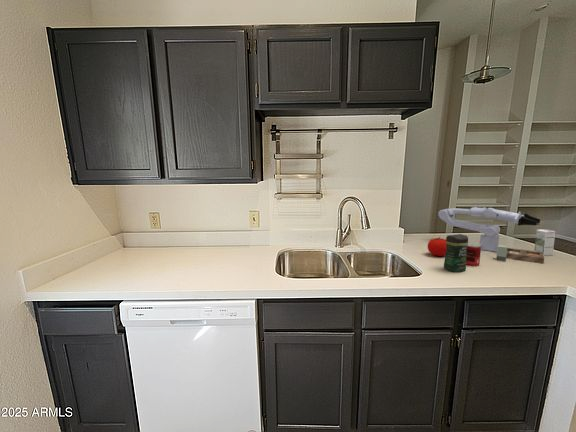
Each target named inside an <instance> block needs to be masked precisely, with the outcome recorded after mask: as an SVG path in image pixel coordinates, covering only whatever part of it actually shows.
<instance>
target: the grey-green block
mask: <svg viewBox="0 0 576 432" xmlns="http://www.w3.org/2000/svg"><path fill="white" fill-rule="evenodd" d="M507 248H508V246H507V245H501V244H498V247H497V252H496V257H495V258H496V259H495V260H496V261H498V262H499V261H500V262H506V261H507V258H506V255H507Z"/></svg>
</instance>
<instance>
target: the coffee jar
mask: <svg viewBox="0 0 576 432" xmlns="http://www.w3.org/2000/svg"><path fill="white" fill-rule="evenodd" d="M445 240H446V254H445V255H444V262H443V269H445V270H446V271H448V272H453V273H457V272H458V273H459V272H465V271H466V270H467V265H466V249H467V245H468V243H469V237H468V235H465V234H461V233H458V234H448V235H447V236H446V238H445Z"/></svg>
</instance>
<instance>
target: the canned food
mask: <svg viewBox="0 0 576 432" xmlns="http://www.w3.org/2000/svg"><path fill="white" fill-rule="evenodd" d="M481 251H482V250H481V245H480V244H479V243H478V242H477V243H476V242H468V245H467V249H466V266H470V267H478V266H479V265H480V263H481Z"/></svg>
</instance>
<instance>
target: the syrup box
mask: <svg viewBox="0 0 576 432" xmlns="http://www.w3.org/2000/svg"><path fill="white" fill-rule="evenodd" d="M555 237H556V230H551V229H546V228H544V229H543V228H542V229H541V228H540V229H536V233H535V243H534V251H538V252H543V256H553V255H554V246H555Z"/></svg>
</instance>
